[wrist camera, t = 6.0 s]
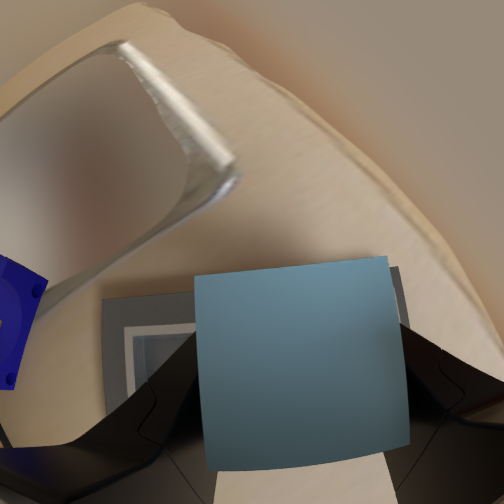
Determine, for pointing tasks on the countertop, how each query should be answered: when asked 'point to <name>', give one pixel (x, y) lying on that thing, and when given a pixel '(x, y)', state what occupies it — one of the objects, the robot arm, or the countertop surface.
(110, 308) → the grey peg holder base
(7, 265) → the cable clip
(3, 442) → the ammunition clip
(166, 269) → the countertop surface
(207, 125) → the countertop surface
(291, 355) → the plug
